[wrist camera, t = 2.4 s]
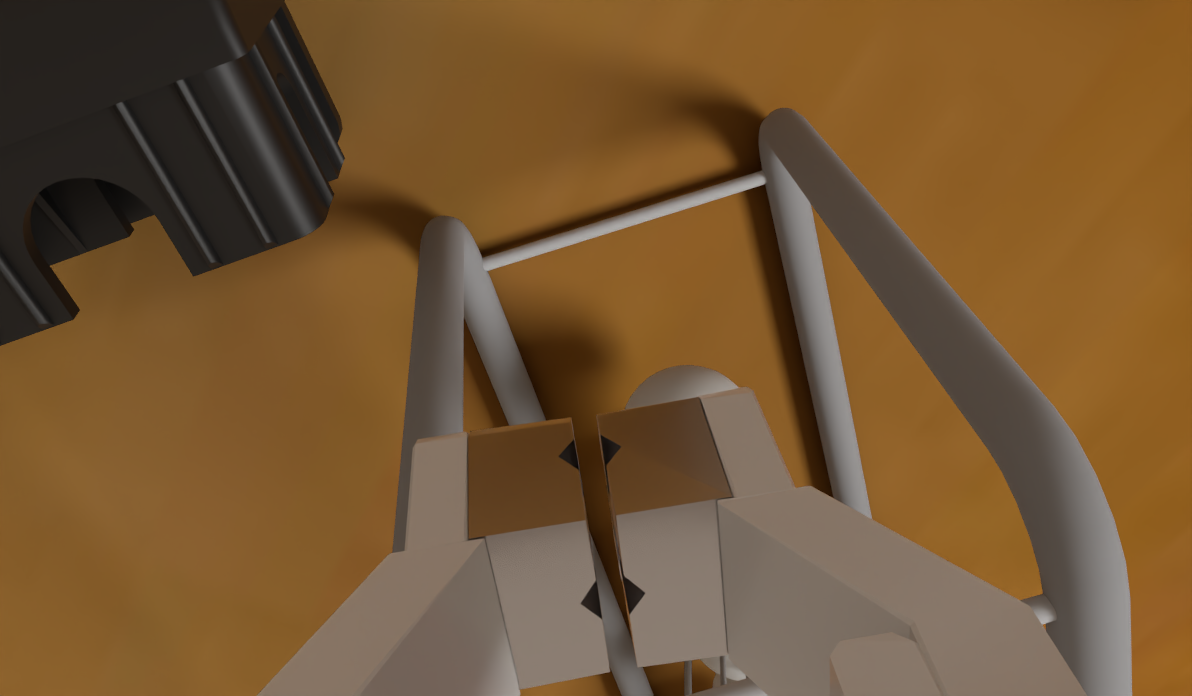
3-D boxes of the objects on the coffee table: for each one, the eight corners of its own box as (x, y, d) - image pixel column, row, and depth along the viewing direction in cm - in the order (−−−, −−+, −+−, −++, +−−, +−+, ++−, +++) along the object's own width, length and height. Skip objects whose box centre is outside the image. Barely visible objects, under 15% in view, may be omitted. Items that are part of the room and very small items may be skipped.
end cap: (236, -148, 24) (162, -109, 18) (366, 129, 28) (340, 235, 22) (-147, 2, 25) (-335, 84, 19) (29, 253, 29) (-83, 385, 23)
